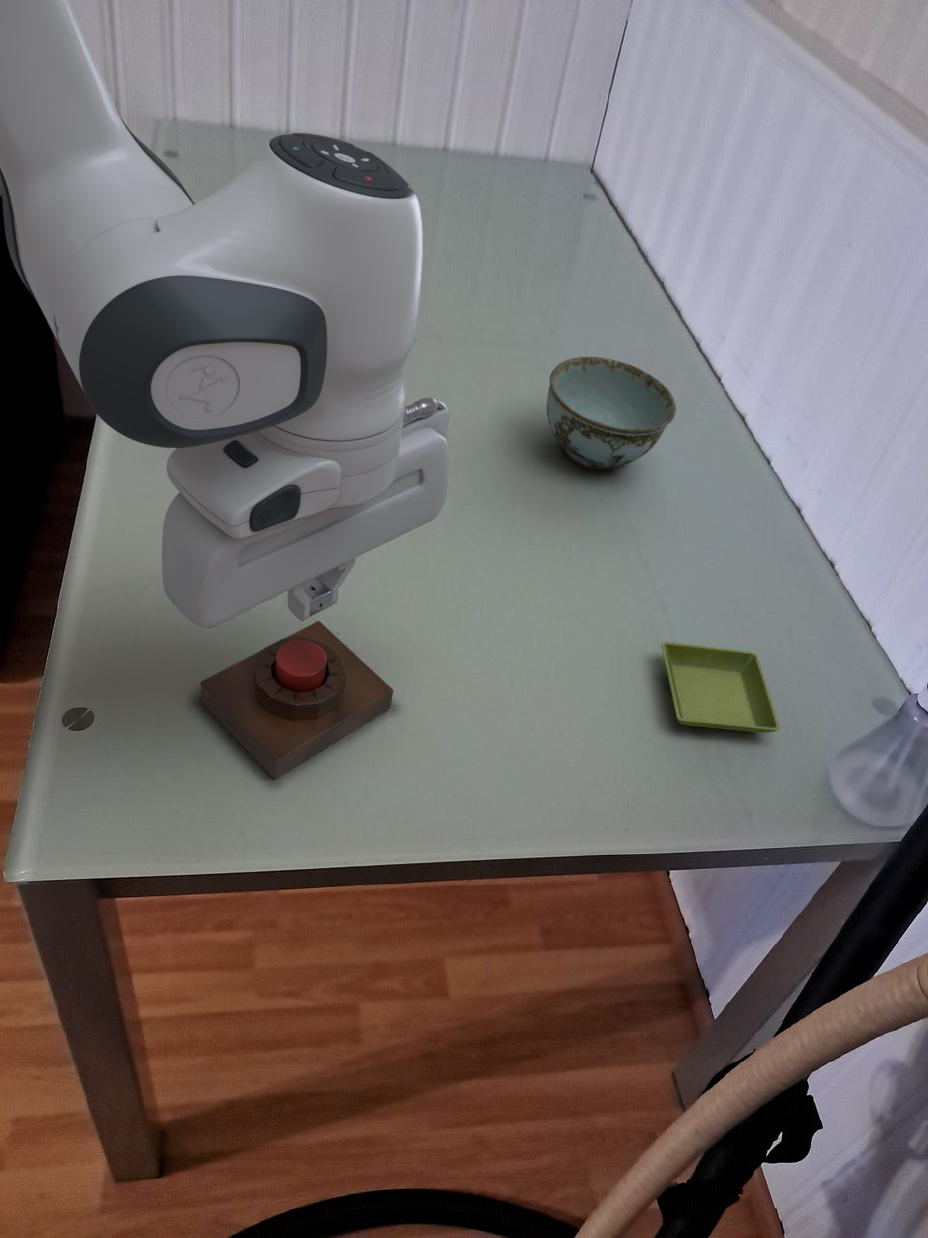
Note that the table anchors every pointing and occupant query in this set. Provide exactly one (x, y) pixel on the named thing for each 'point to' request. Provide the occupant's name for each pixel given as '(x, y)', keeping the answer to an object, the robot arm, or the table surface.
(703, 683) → the green square tray
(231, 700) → the button block
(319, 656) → the button
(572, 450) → the bowl
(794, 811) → the table surface
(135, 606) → the table surface
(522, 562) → the table surface
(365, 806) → the table surface
